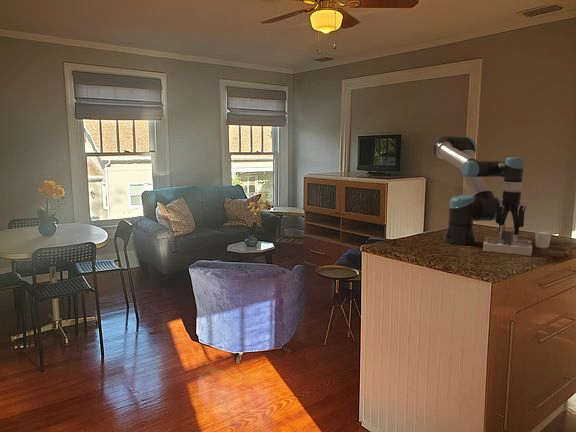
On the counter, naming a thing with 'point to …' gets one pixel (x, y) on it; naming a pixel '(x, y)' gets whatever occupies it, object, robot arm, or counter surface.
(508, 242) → the dial
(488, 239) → the housing
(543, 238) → the shot glass
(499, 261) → the counter surface
